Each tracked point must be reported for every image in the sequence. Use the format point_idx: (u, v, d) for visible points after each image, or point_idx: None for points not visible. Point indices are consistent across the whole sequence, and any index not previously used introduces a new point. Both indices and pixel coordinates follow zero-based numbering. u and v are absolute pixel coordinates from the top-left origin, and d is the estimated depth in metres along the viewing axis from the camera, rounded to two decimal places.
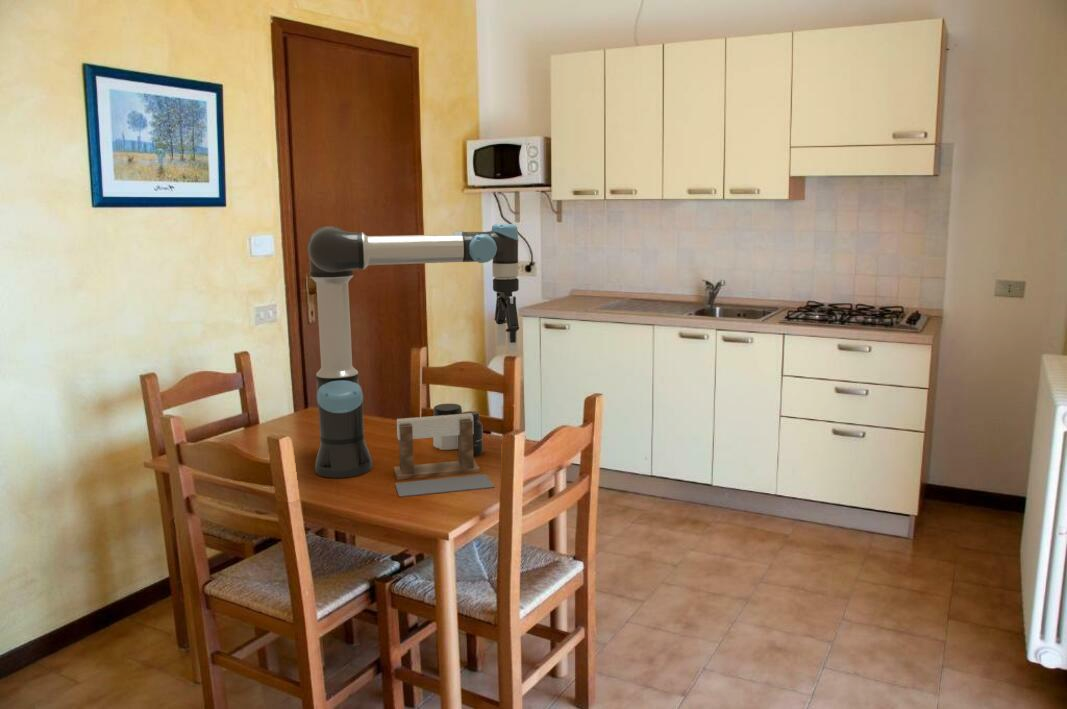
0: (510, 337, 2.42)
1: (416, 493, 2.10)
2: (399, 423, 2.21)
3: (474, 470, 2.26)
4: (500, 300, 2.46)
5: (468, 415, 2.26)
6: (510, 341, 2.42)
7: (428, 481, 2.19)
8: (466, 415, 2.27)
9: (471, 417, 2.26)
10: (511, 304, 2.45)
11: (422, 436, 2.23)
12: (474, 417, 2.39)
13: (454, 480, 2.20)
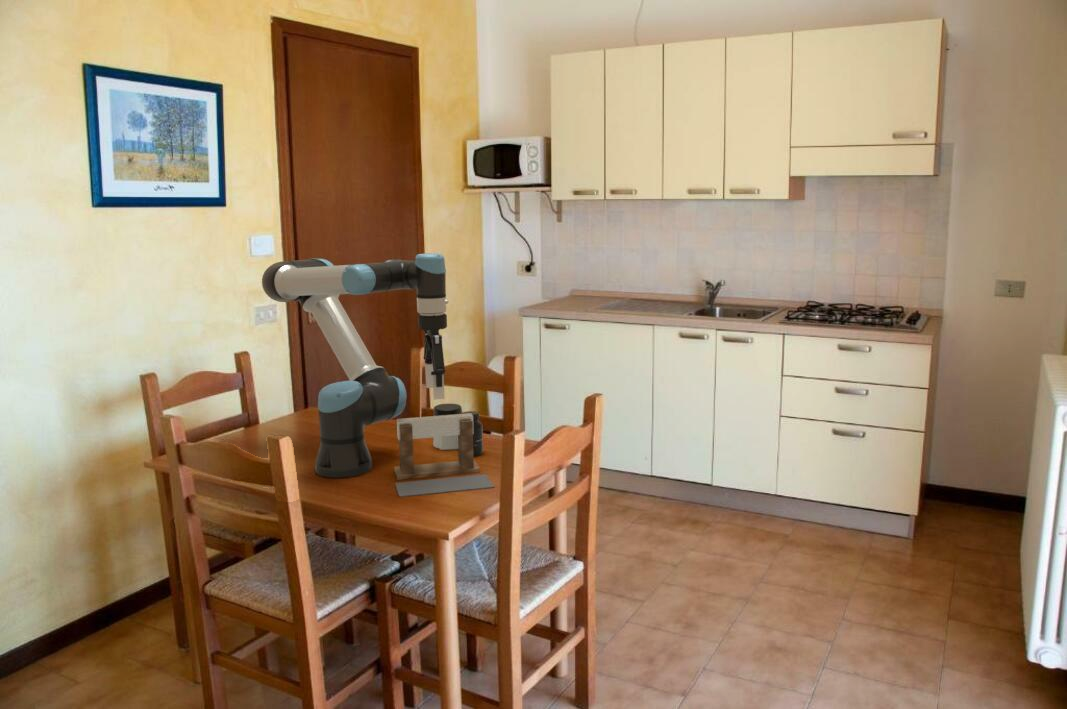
0: (436, 381, 2.15)
1: (416, 493, 2.10)
2: (399, 423, 2.21)
3: (474, 470, 2.26)
4: (426, 339, 2.19)
5: (468, 415, 2.26)
6: (436, 385, 2.16)
7: (428, 481, 2.19)
8: (466, 415, 2.27)
9: (471, 417, 2.26)
10: (438, 343, 2.18)
11: (422, 436, 2.23)
12: (474, 417, 2.39)
13: (454, 480, 2.20)
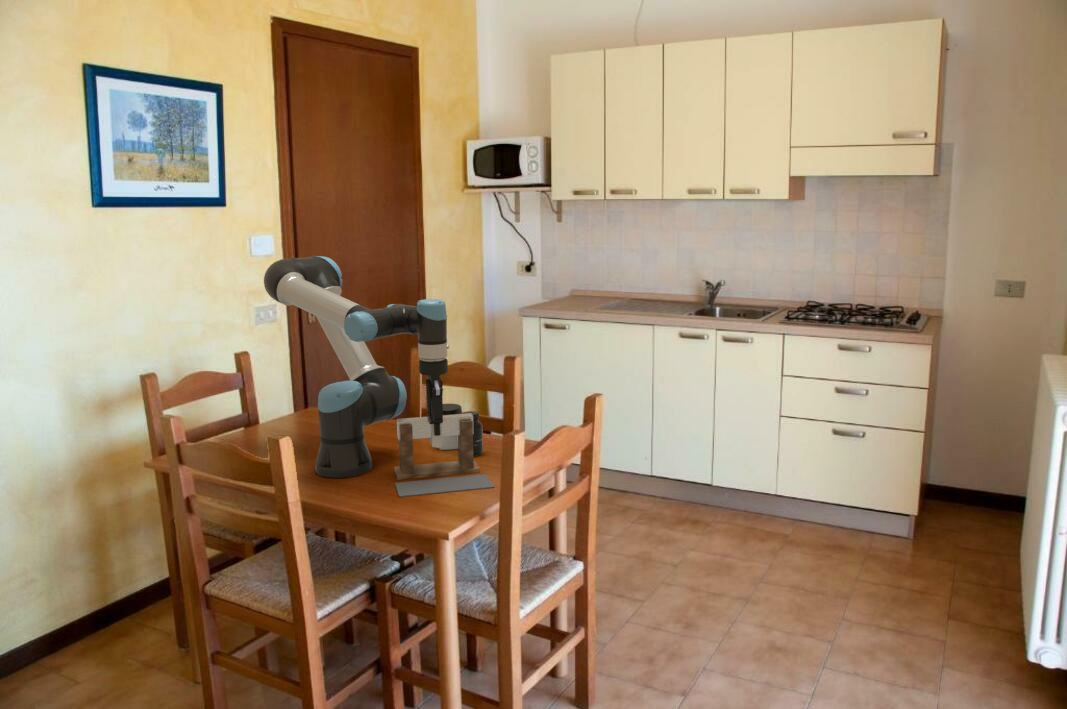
0: (434, 430, 2.23)
1: (416, 493, 2.10)
2: (399, 423, 2.21)
3: (474, 470, 2.26)
4: (427, 383, 2.22)
5: (468, 415, 2.26)
6: (434, 434, 2.23)
7: (428, 481, 2.19)
8: (466, 415, 2.27)
9: (471, 417, 2.26)
10: None
11: (422, 436, 2.23)
12: (474, 417, 2.39)
13: (454, 480, 2.20)
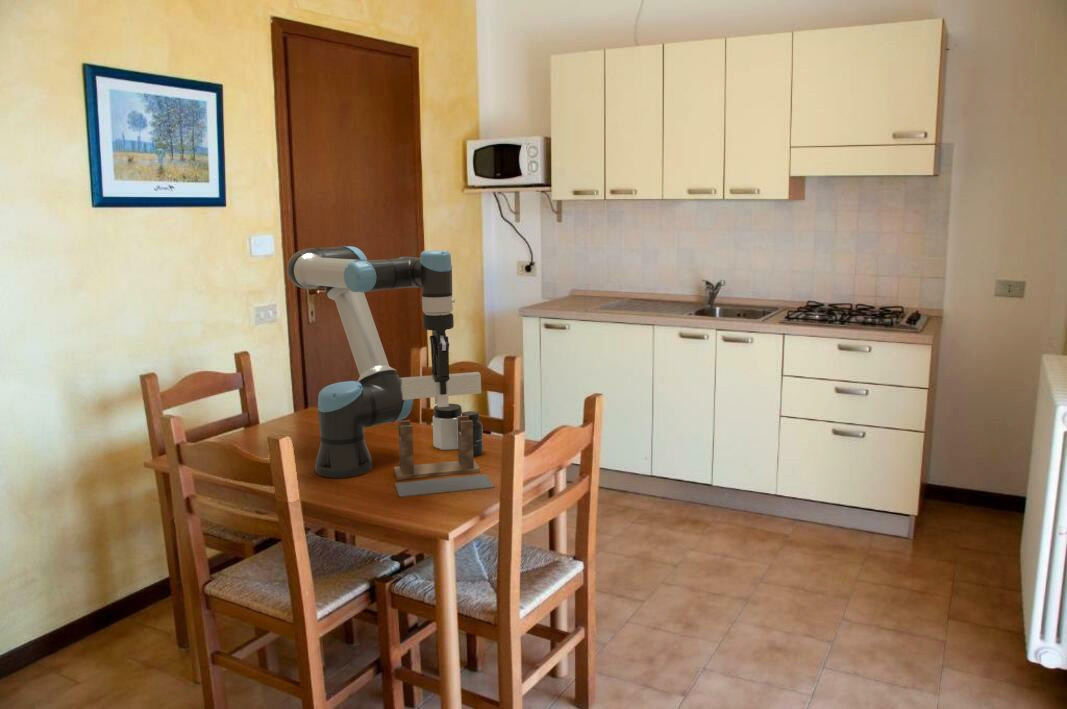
0: (440, 388, 2.11)
1: (416, 493, 2.10)
2: (403, 381, 2.09)
3: (474, 470, 2.26)
4: (432, 339, 2.10)
5: (475, 374, 2.15)
6: (440, 393, 2.11)
7: (428, 481, 2.19)
8: (473, 373, 2.15)
9: (478, 375, 2.14)
10: None
11: (427, 395, 2.12)
12: (474, 417, 2.39)
13: (454, 480, 2.20)
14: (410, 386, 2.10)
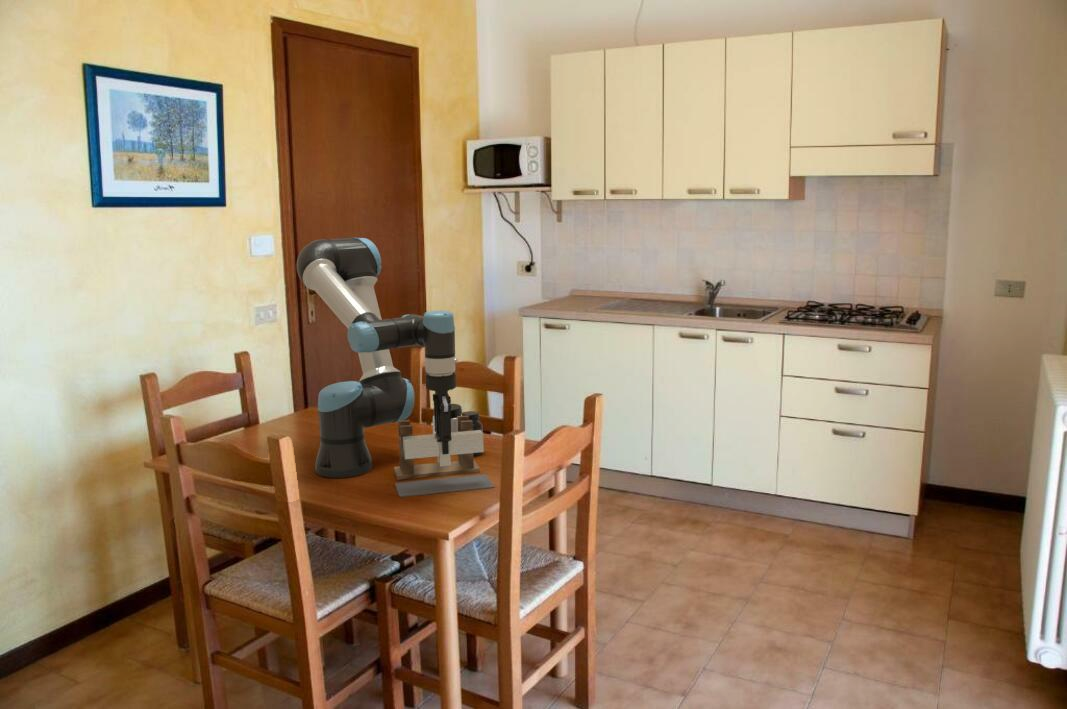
0: (442, 448, 2.11)
1: (416, 493, 2.10)
2: (405, 441, 2.10)
3: (474, 470, 2.26)
4: (434, 399, 2.10)
5: (478, 432, 2.15)
6: (442, 452, 2.12)
7: (428, 481, 2.19)
8: (476, 432, 2.15)
9: (481, 434, 2.15)
10: None
11: (430, 455, 2.12)
12: (474, 417, 2.39)
13: (454, 480, 2.20)
14: (412, 446, 2.11)
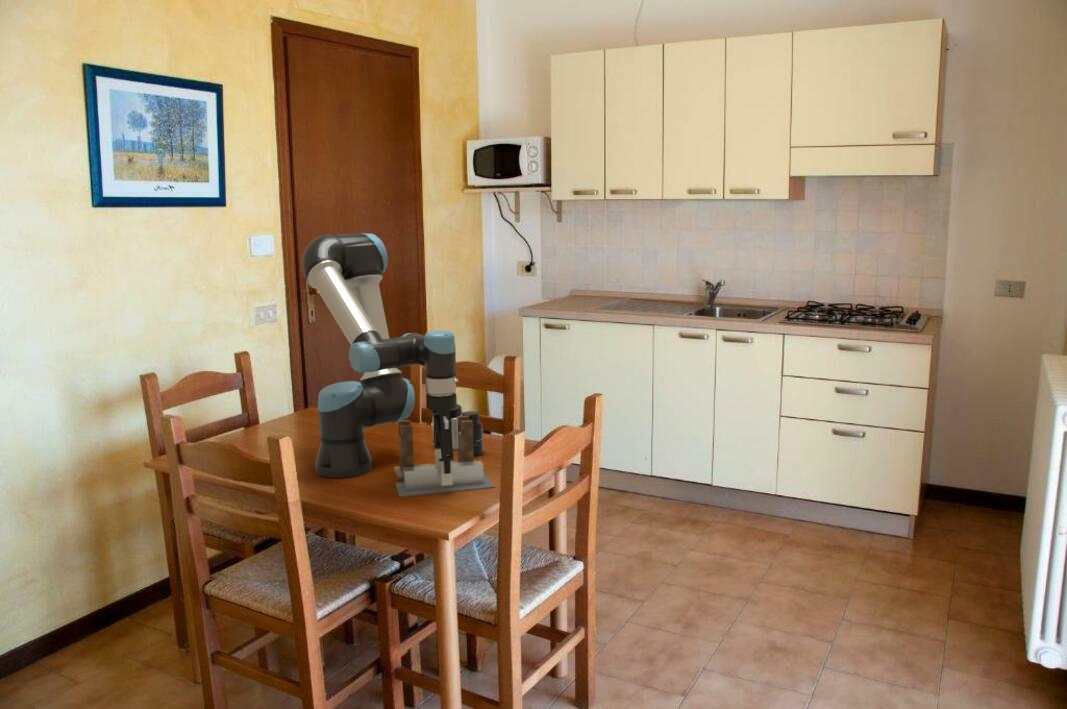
0: (444, 467, 2.10)
1: (416, 493, 2.10)
2: (406, 473, 2.12)
3: None
4: (435, 419, 2.11)
5: (478, 464, 2.17)
6: (444, 472, 2.10)
7: None
8: (476, 463, 2.17)
9: (481, 465, 2.17)
10: None
11: (430, 486, 2.14)
12: (474, 417, 2.39)
13: None
14: (413, 477, 2.12)
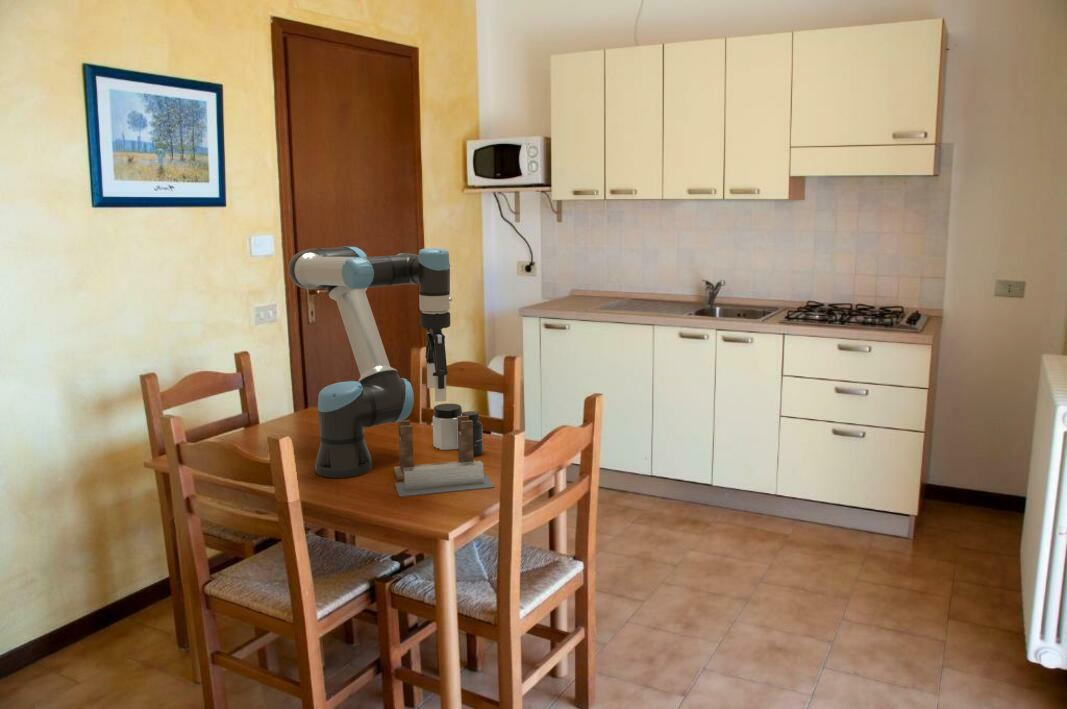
0: (438, 382, 2.06)
1: (416, 493, 2.10)
2: (406, 473, 2.12)
3: None
4: (428, 338, 2.10)
5: (478, 464, 2.17)
6: (438, 387, 2.07)
7: None
8: (476, 463, 2.17)
9: (481, 465, 2.17)
10: None
11: (430, 486, 2.14)
12: (474, 417, 2.39)
13: None
14: (413, 477, 2.12)
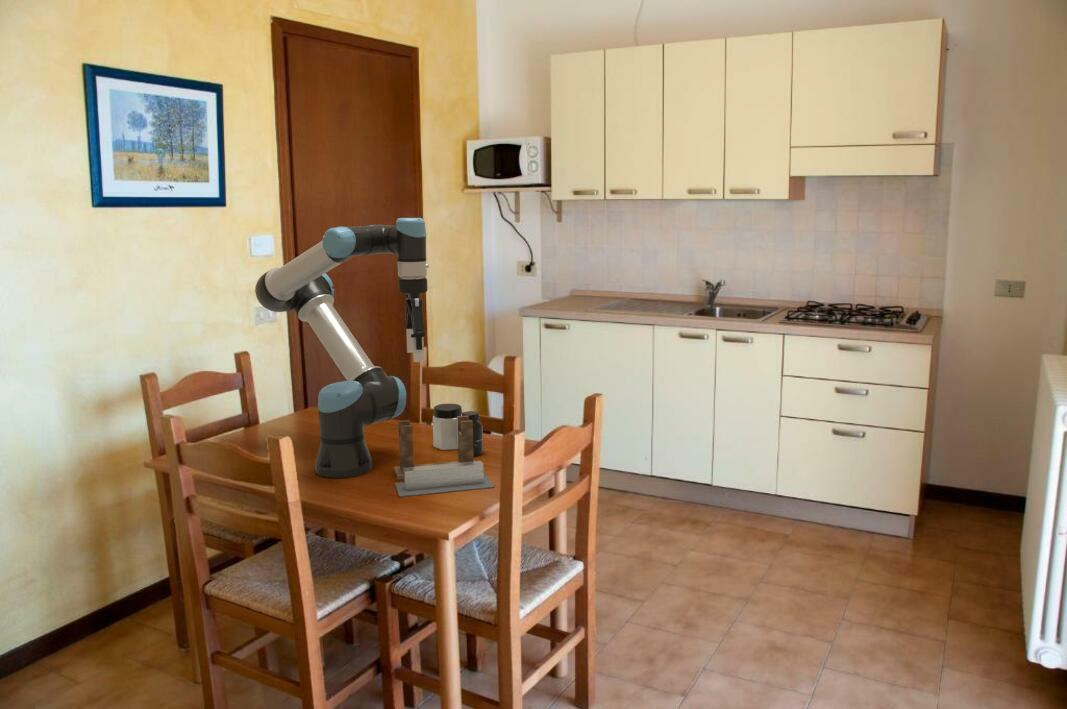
0: (416, 343, 2.17)
1: (416, 493, 2.10)
2: (406, 473, 2.12)
3: None
4: (406, 302, 2.21)
5: (478, 464, 2.17)
6: (416, 348, 2.18)
7: None
8: (476, 463, 2.17)
9: (481, 465, 2.17)
10: None
11: (430, 486, 2.14)
12: (474, 417, 2.39)
13: None
14: (413, 477, 2.12)
